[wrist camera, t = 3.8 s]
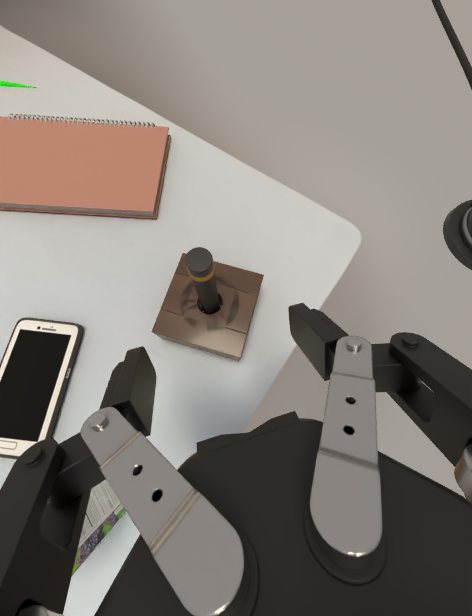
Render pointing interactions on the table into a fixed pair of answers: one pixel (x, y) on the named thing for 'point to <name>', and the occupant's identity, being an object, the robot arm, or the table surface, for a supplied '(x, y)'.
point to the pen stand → (214, 327)
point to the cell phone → (34, 381)
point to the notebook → (81, 166)
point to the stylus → (203, 278)
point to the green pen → (13, 84)
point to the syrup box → (98, 520)
